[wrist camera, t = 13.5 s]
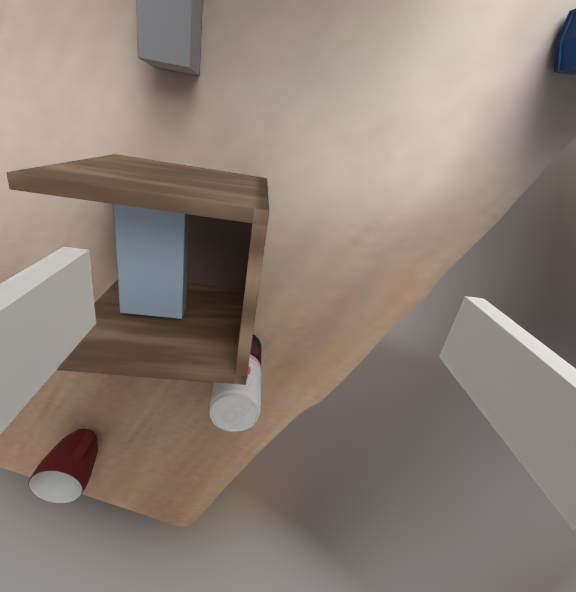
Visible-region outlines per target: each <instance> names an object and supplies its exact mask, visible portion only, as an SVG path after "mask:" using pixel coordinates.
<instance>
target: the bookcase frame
mask: <svg viewBox="0 0 576 592" xmlns="http://www.w3.org/2000/svg"><path fill="white" fill-rule="evenodd" d="M7 177H8V183H9V188H10V189H12V190H19V191H26V192H33V193H40V194H47V195H54V196H62V197H69V198H76V199H83V200H90V201H97V202H104V203H111V204H119V205H126V206H133V207H140V208H147V209H154V210H161V211H168V212H176V213H183V214H190V215H197V216H204V217H211V218H218V219H225V220H233V221H240V222H247V223H252V232H251V241H250V250H249V258H248V267H247V276H246V284H245V290H240V289H231V288H222V287H214V286H205V285H196V284H188V283H187V300H186V311H185V313H184V315H183V318H182V319H178V318H168V317H158V316H148V315H139V314H129V313H120V301H119V284H118V280H117V281H116V282H115V283H114V284H113V285H112V286H111V287H110V288H109V289H108V290H107V291H106V292H105V293H104V294H103V295H102V296H101V297H100V298H99V299H98V300H97V302H96V303H95V304H94V306H95V316H96V324H95V325H94V327H93V328H92V329H91V330H90V331H89V332H88V333H87V335H86V336H85V337H84V338H83V339H82V340H81V342H80V343H79V344H78V345H77V346H76V347H75V349H74V350H73V351H72V352H71V353H70V354H69V356H68V357H67V358H66V359H65V360H64V361H63V362H62V364H61V365H60V366H59V367H58V368H57V369H56V370H65V371H77V372H90V373H102V374H115V375H127V376H140V377H152V378H165V379H177V380H190V381H203V382H215V383H228V384H240V385H246V381H247V373H248V366H249V358H250V351H251V343H252V336H253V328H254V321H255V313H256V306H257V298H258V291H259V283H260V276H261V269H262V261H263V254H264V246H265V239H266V231H267V224H268V216H269V201H268V187H267V178H261V177H255V176H248V175H242V174H236V173H229V172H223V171H217V170H210V169H204V168H198V167H191V166H185V165H179V164H172V163H166V162H160V161H153V160H147V159H141V158H134V157H128V156H122V155H115V154H114V155H108V156H102V157H96V158H90V159H84V160H78V161H72V162H66V163H60V164H53V165H47V166H41V167H35V168H29V169H23V170H17V171H11V172H7Z"/></svg>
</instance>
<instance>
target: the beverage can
mask: <svg viewBox="0 0 576 592" xmlns="http://www.w3.org/2000/svg"><path fill="white" fill-rule="evenodd" d="M209 412H210V418H211V420H212V422H213V423H214V424H215V425H216V426H217V427H219V428H221V429H223V430H226V431H231V432H239V431H244V430H246V429H249V428H250V427H252V426H253V425H254V424H255V423H256V422H257V420H258V418H259V415H260V412H261V343H260V341H259V339H258V338H257V337H256V336H255V335H253V336H252V343H251V351H250V358H249V366H248V373H247V381H246V385H240V384H228V383H215V382H214V385H213V391H212V396H211V401H210V406H209Z"/></svg>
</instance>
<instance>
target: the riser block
mask: <svg viewBox="0 0 576 592" xmlns="http://www.w3.org/2000/svg"><path fill="white" fill-rule="evenodd" d="M136 3H137V42H138V58H140V59H142V60H143V61H145V62H147V63H148V64H150V65H152V66H154V67H156V68H161V69H166V70H172V71H177V72H182V73H187V74H192V75H198V76H200V55H201V30H202V5H203V0H136Z"/></svg>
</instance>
